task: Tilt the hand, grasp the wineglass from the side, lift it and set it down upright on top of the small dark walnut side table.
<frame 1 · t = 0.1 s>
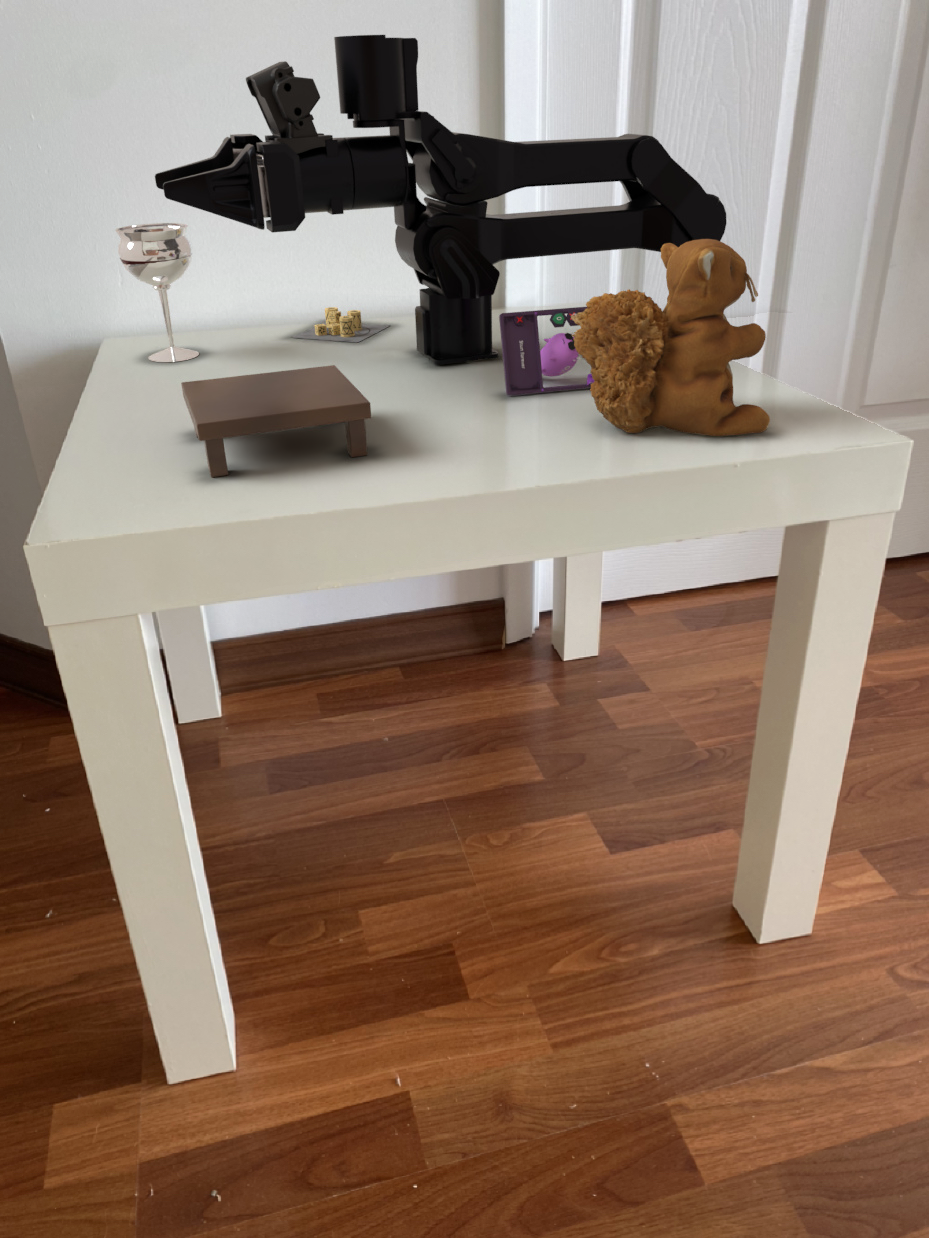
hand: (159, 185, 78), 17 cm above the table, tool horizontal, fingers open, 9 cm apart
dice set: (341, 333, 104), on the table
game card: (549, 387, 84), on the table
wineglass: (174, 357, 96), on the table
side table: (278, 444, 72), on the table
stuffed squirrel: (664, 424, 74), on the table
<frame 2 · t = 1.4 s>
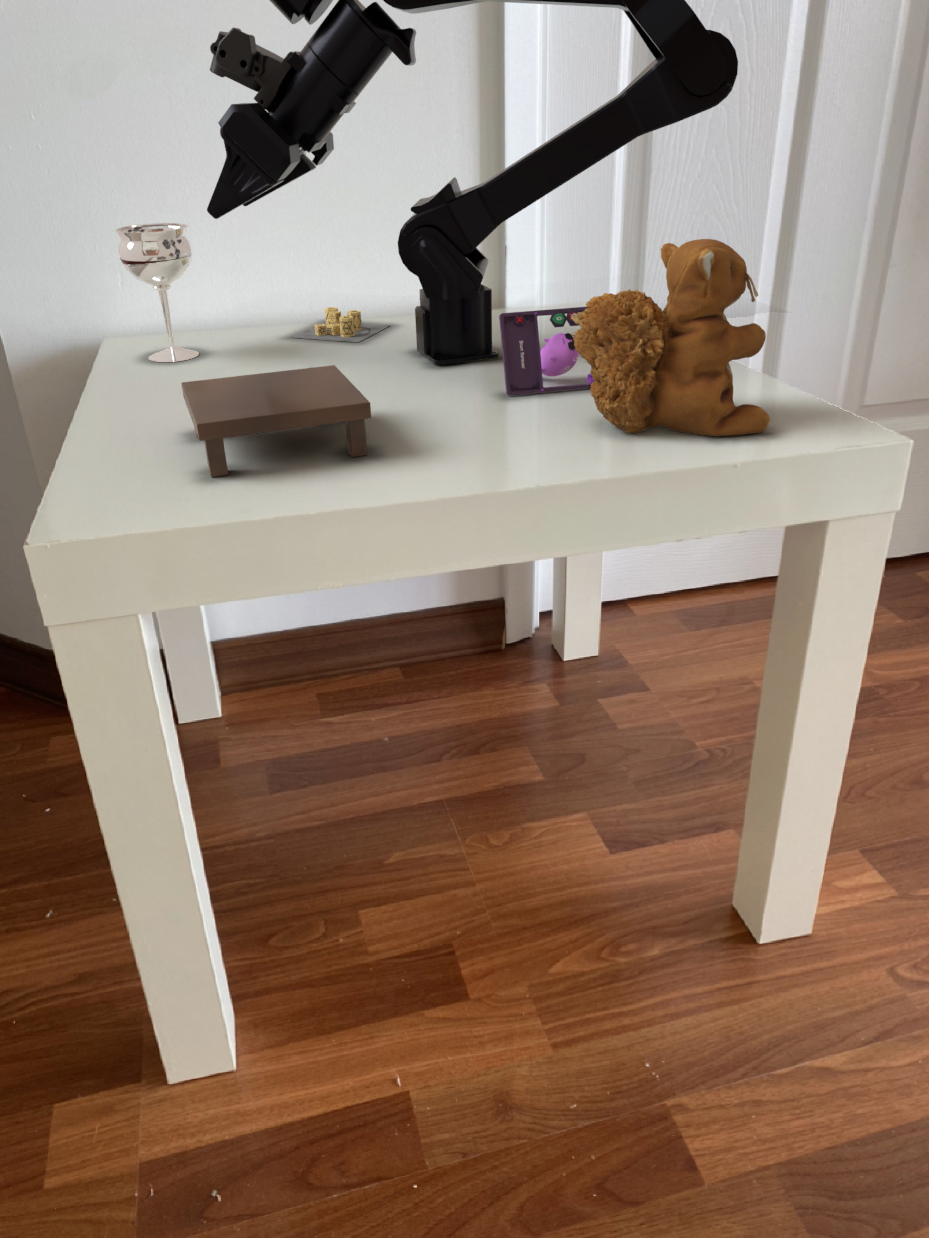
hand: (226, 208, 88), 14 cm above the table, tool tilted 45°, fingers open, 9 cm apart
nothing on the table moved.
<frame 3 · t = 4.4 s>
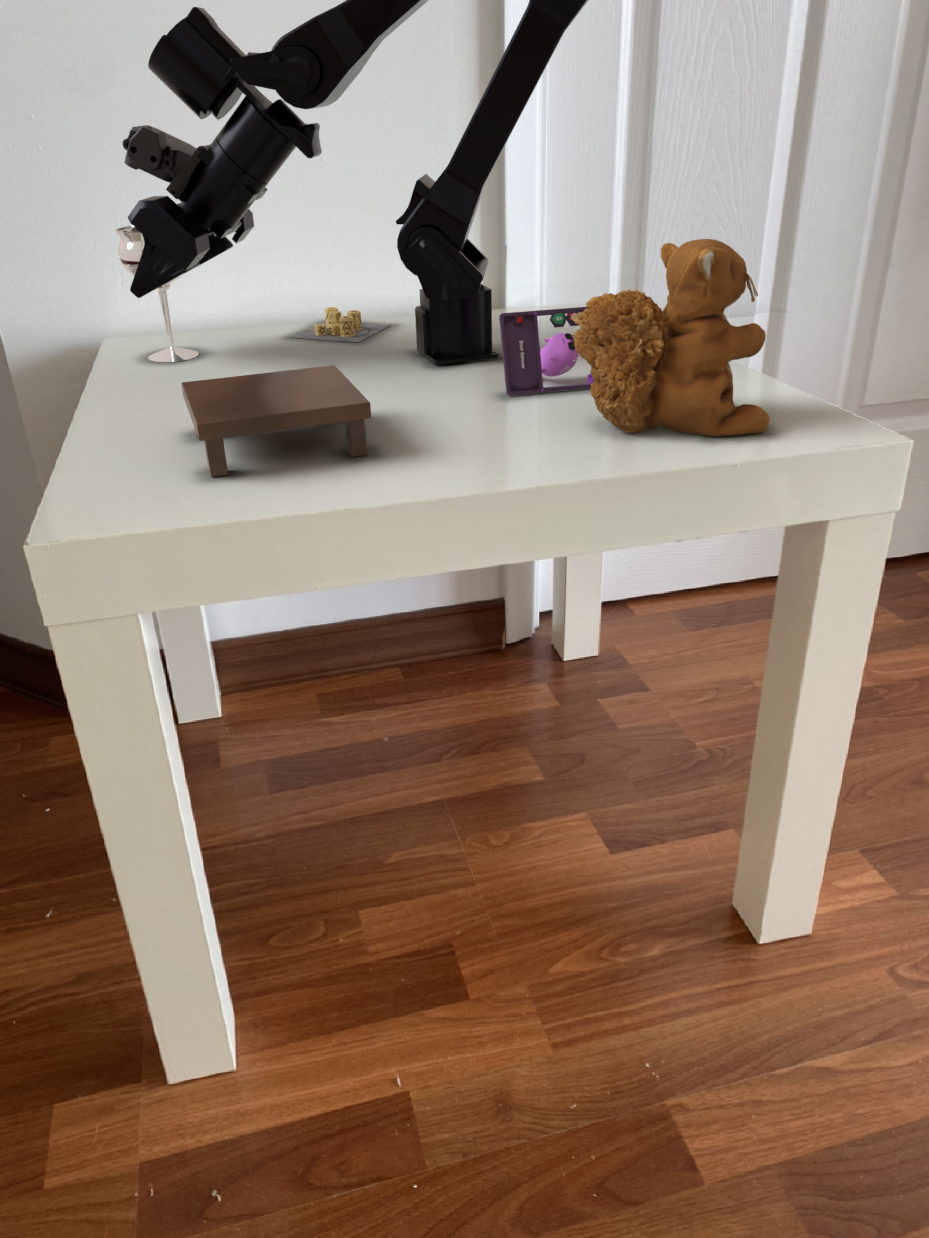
hand: (147, 287, 93), 7 cm above the table, tool tilted 45°, fingers closed on wineglass, 6 cm apart
wineglass: (173, 357, 96), on the table, touching gripper
everything else where it was.
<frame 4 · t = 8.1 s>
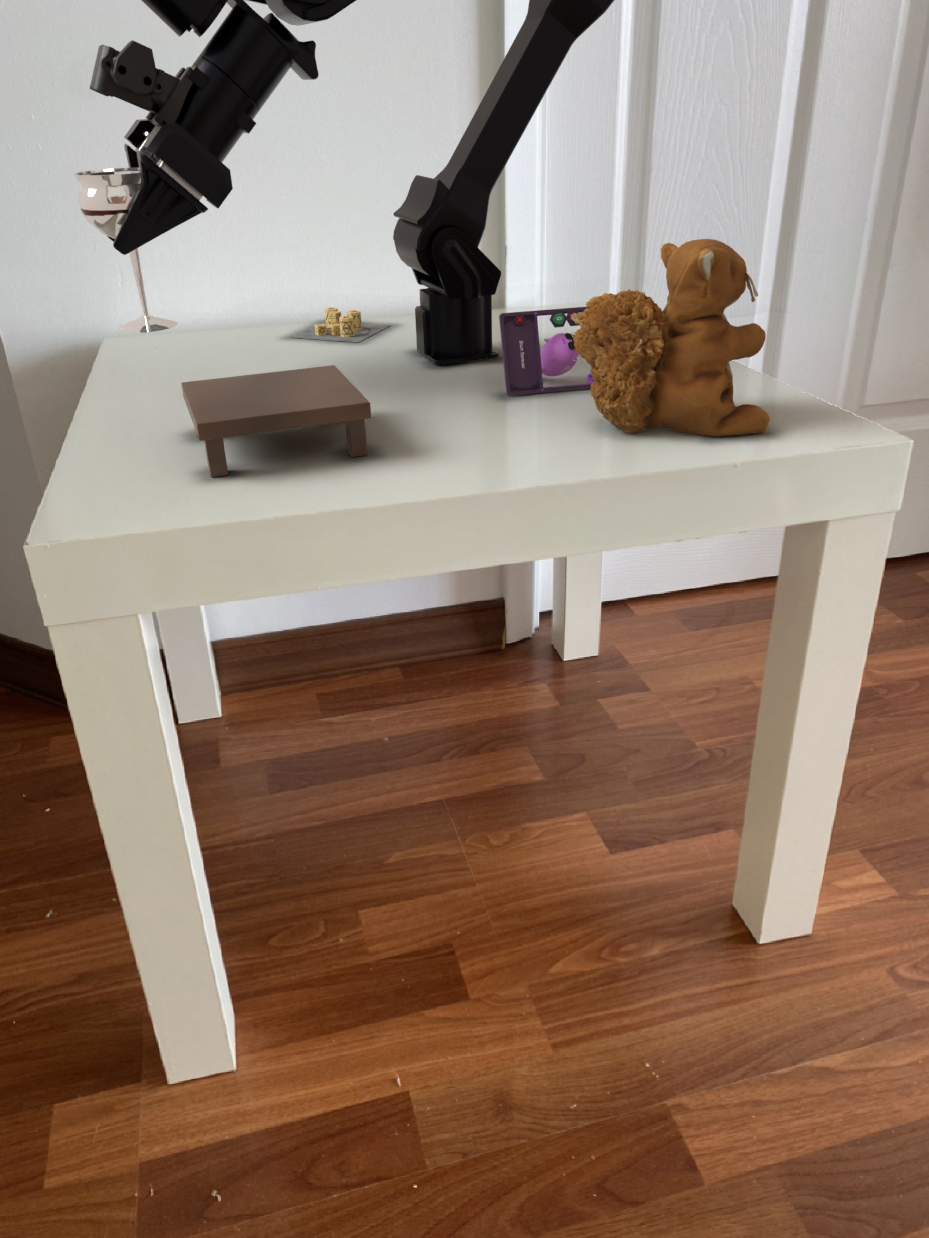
hand: (114, 245, 78), 12 cm above the table, tool tilted 45°, fingers closed on wineglass, 6 cm apart
wineglass: (148, 328, 82), point 6 cm above the table, touching gripper
everything else where it was.
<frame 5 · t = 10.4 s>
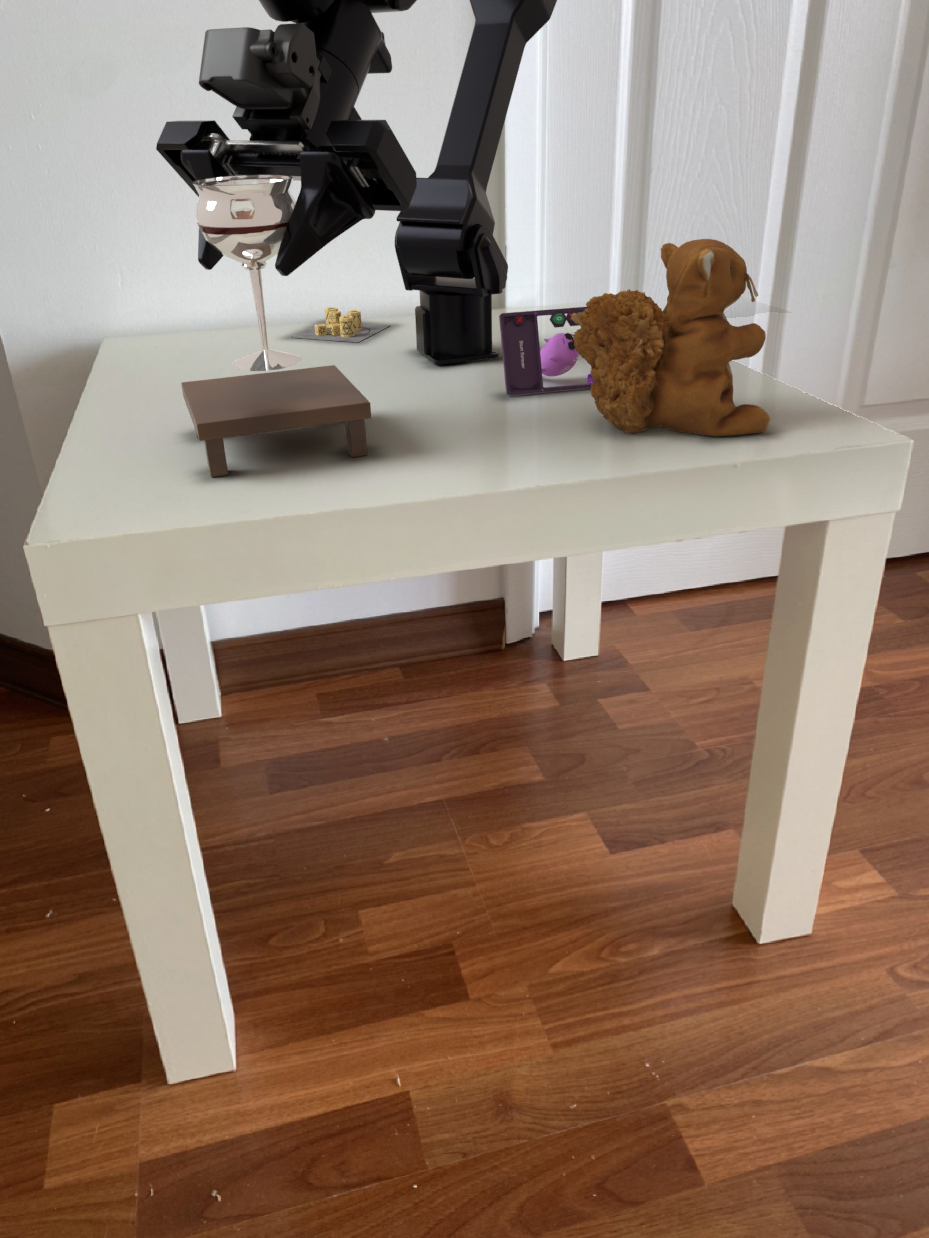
hand: (241, 269, 65), 13 cm above the table, tool tilted 45°, fingers closed on wineglass, 6 cm apart
wineglass: (267, 364, 69), point 6 cm above the table, touching gripper
everything else where it was.
when the fingers open (11 cm above the table, at t = 11.9 s): wineglass stays where it is, resting on side table.
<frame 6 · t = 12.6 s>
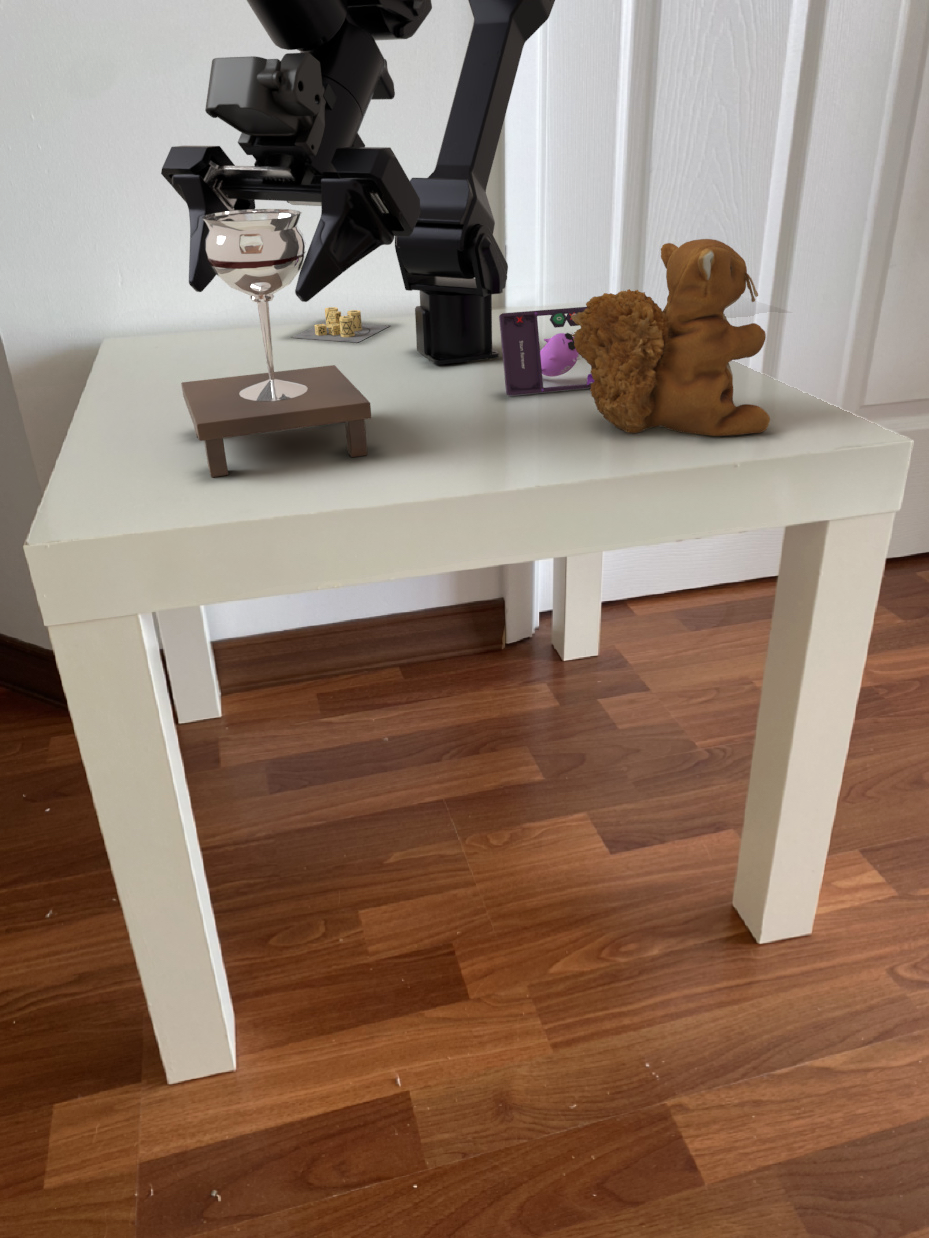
hand: (245, 293, 65), 11 cm above the table, tool tilted 45°, fingers open, 9 cm apart
wineglass: (273, 393, 70), point 4 cm above the table, touching side table
everything else where it was.
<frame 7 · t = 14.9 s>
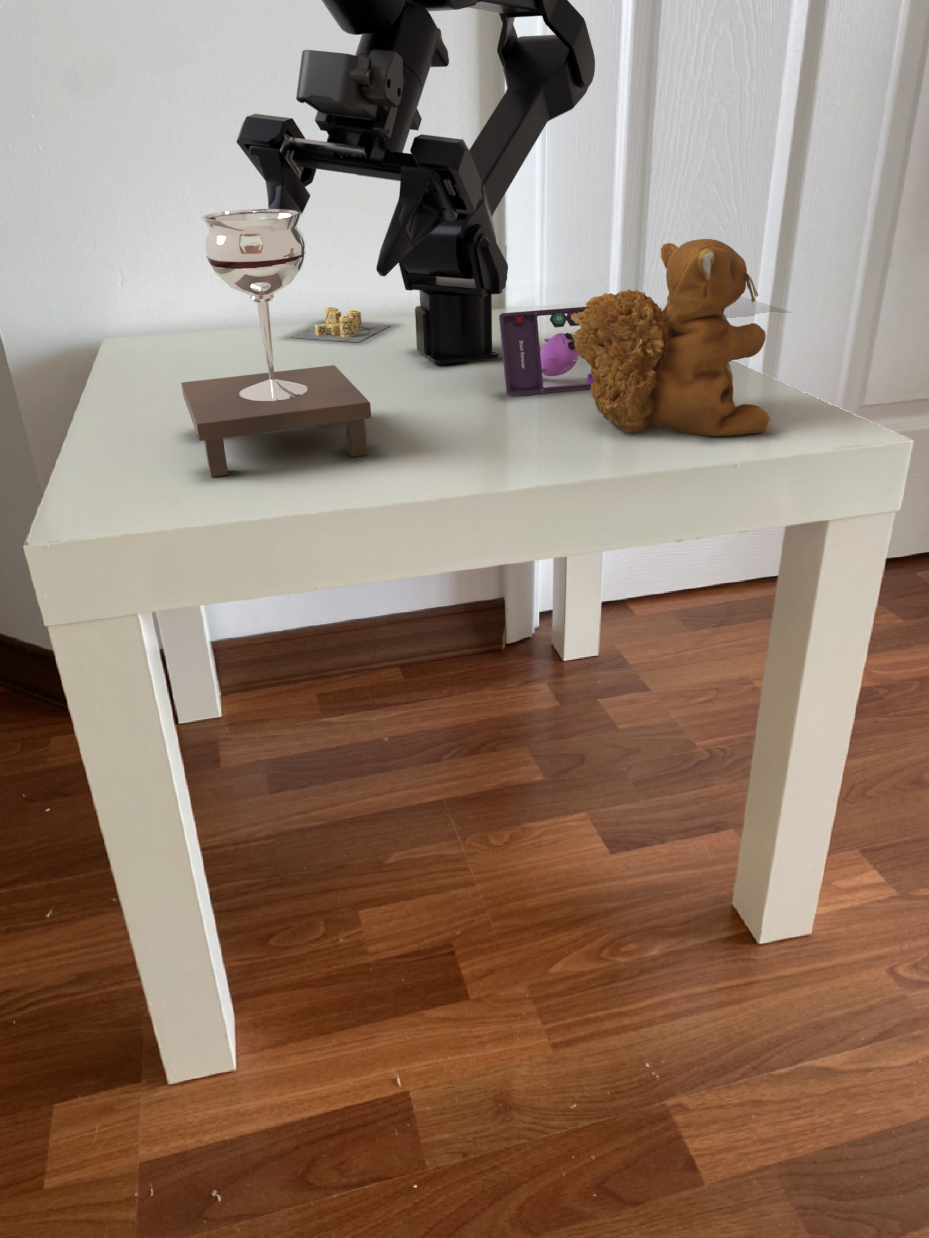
hand: (326, 264, 73), 11 cm above the table, tool tilted 40°, fingers open, 9 cm apart
nothing on the table moved.
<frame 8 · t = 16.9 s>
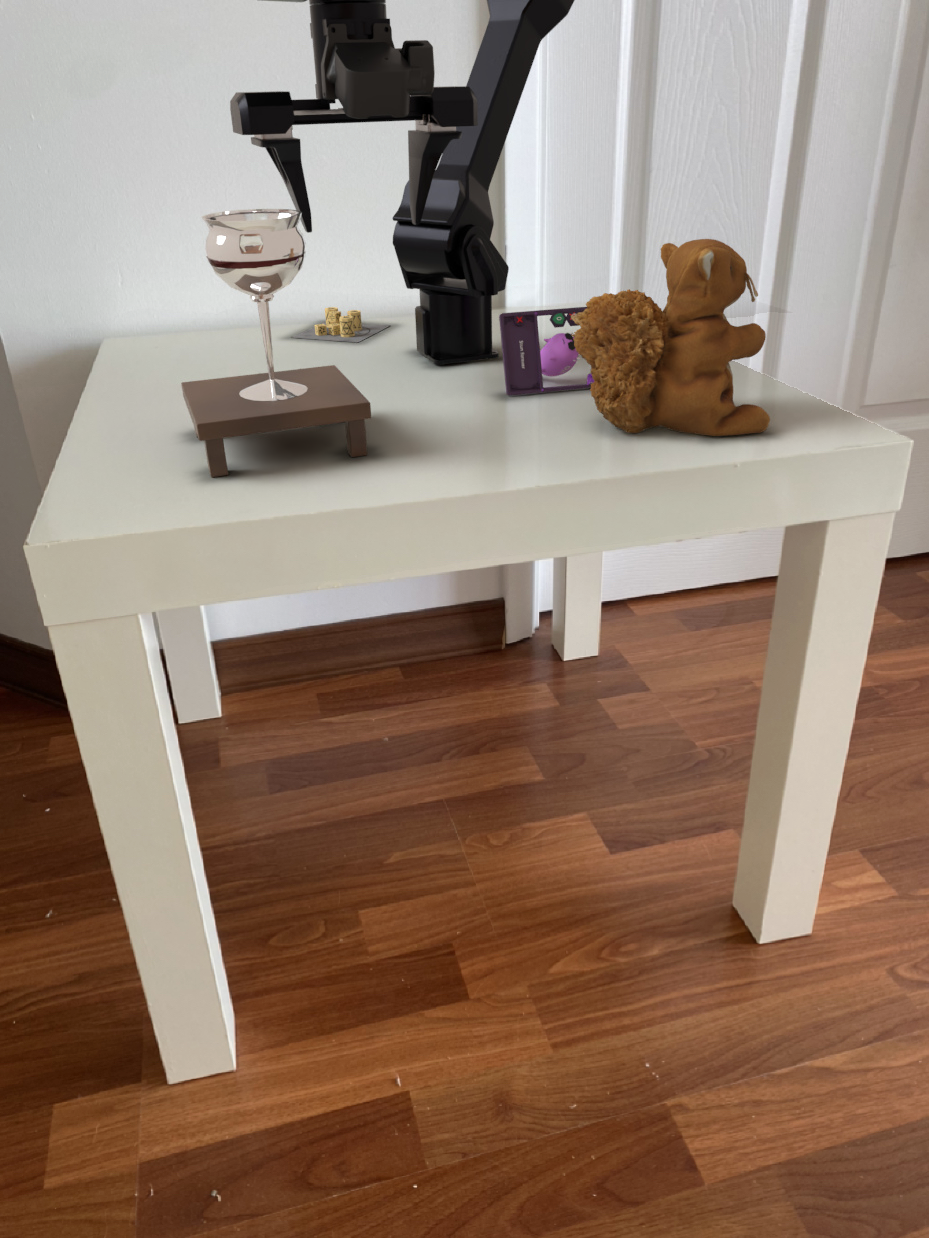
hand: (363, 228, 79), 13 cm above the table, tool pointing down, fingers open, 9 cm apart
nothing on the table moved.
at the end: wineglass inside the target area on the side table (0.1 cm from its centre), point 3.8 cm above the side table's base; wineglass tilted 0°; the gripper is holding nothing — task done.
